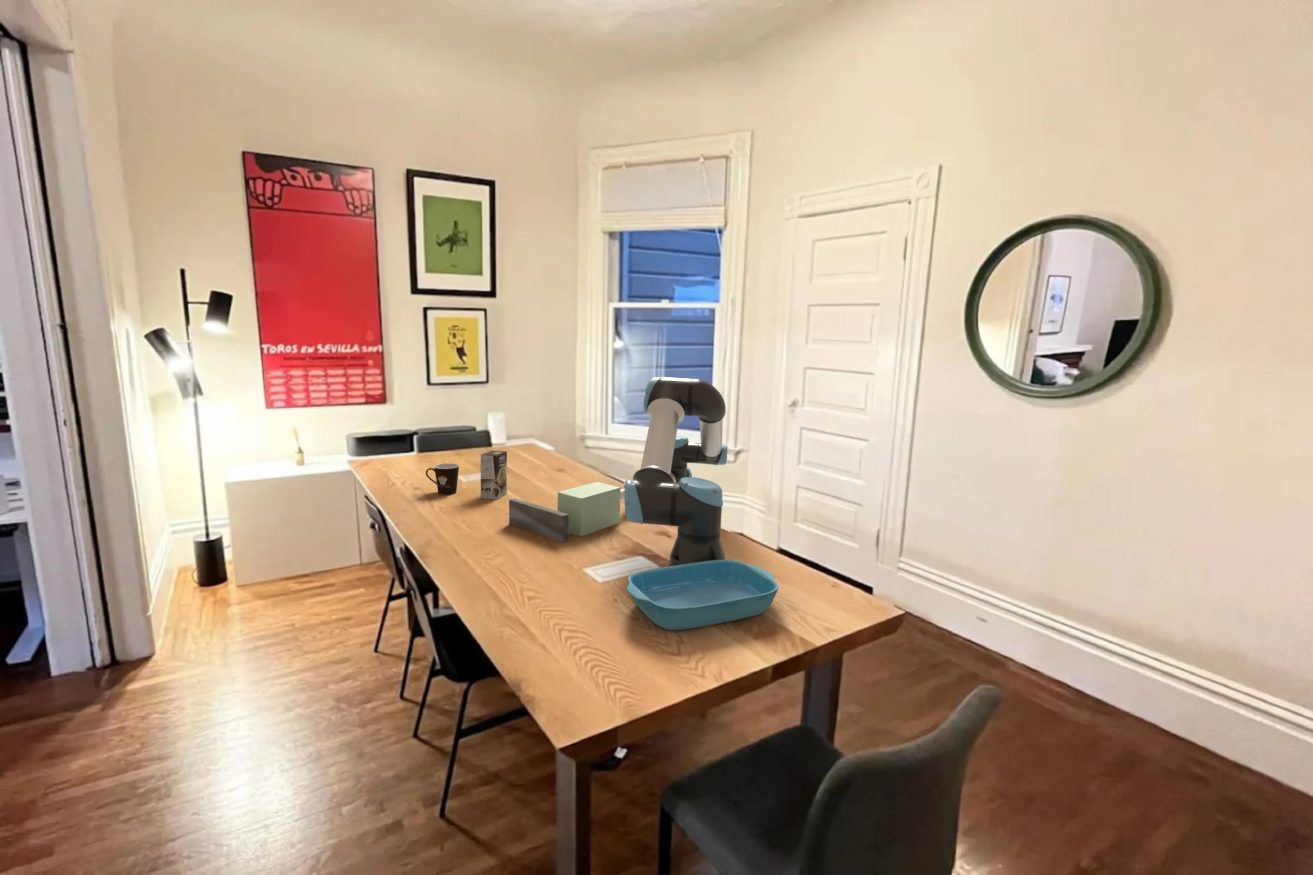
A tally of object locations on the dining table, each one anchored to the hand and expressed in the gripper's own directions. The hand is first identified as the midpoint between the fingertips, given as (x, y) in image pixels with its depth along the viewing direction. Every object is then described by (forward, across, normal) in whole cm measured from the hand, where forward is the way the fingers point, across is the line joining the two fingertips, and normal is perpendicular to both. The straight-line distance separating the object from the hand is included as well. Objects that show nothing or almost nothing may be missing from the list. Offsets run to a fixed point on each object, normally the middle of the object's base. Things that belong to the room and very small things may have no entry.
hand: (617, 495), depth 211 cm
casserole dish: (+38, -60, -8) cm, 71 cm away
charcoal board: (+29, +7, -7) cm, 31 cm away
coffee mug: (+22, +65, -8) cm, 69 cm away
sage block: (+14, 0, -7) cm, 15 cm away
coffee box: (+13, +48, -8) cm, 50 cm away
